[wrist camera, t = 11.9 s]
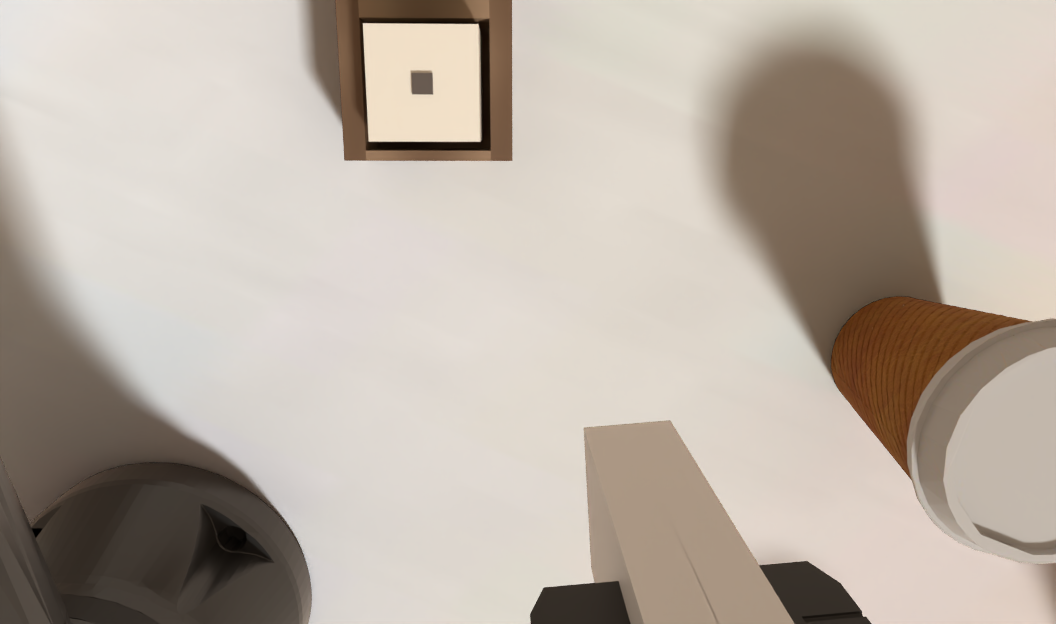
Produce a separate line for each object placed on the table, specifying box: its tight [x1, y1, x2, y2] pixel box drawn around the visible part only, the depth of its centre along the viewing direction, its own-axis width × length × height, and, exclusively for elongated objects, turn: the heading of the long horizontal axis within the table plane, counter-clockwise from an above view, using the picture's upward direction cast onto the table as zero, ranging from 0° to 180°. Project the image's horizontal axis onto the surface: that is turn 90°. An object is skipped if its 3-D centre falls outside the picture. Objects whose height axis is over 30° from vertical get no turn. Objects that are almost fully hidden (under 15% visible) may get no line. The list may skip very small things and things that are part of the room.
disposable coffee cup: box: [831, 296, 1056, 564], centre depth 32 cm, size 10×10×12 cm
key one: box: [363, 23, 483, 142], centre depth 31 cm, size 4×4×5 cm
